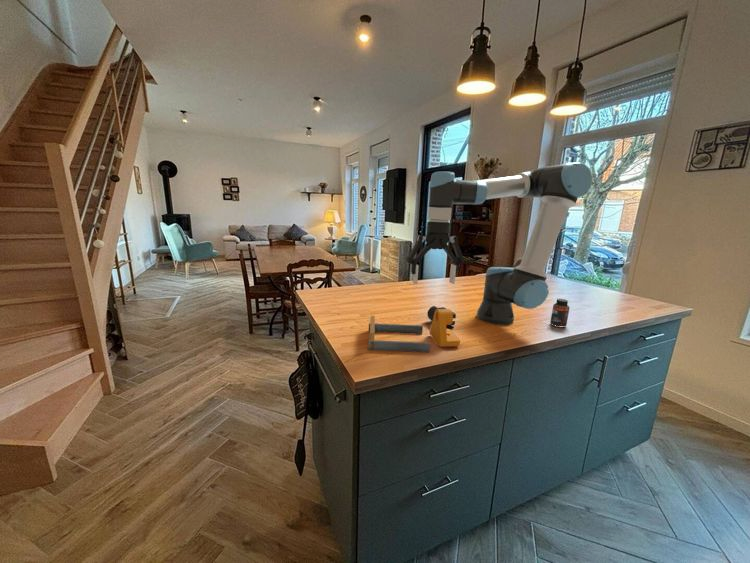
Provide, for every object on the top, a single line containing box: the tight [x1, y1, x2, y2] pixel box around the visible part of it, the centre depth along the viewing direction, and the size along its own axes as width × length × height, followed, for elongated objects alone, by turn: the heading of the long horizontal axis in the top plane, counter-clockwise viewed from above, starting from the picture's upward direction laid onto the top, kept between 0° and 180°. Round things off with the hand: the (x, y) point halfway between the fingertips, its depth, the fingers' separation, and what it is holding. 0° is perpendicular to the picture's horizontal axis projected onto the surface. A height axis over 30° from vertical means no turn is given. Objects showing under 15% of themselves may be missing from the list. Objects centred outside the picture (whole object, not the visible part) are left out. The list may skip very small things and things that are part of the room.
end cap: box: [426, 305, 457, 330], centre depth 122 cm, size 10×7×7 cm
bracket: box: [429, 308, 461, 348], centre depth 105 cm, size 11×7×12 cm, turn 8°
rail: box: [367, 315, 431, 353], centre depth 105 cm, size 20×16×6 cm
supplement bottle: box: [549, 298, 570, 327], centre depth 126 cm, size 6×6×11 cm
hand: (433, 283), depth 105 cm, fingers open, 13 cm apart
